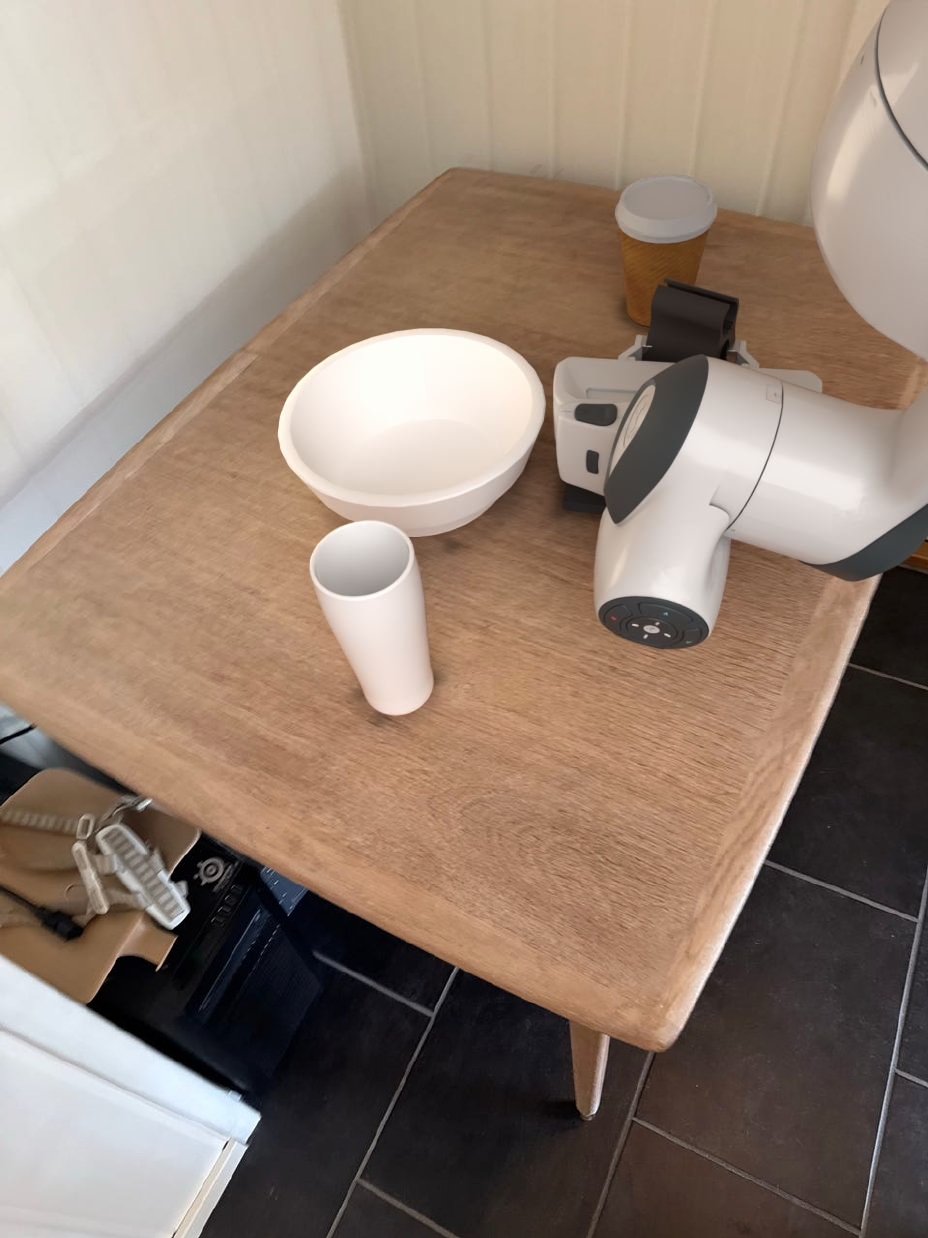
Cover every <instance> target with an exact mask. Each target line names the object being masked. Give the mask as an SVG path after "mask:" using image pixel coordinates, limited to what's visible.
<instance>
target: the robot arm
mask: <svg viewBox="0 0 928 1238" xmlns="http://www.w3.org/2000/svg"><path fill="white" fill-rule="evenodd" d="M816 139H817V140H816V141H815V146H814V149H813V152H812V156H811V162H810V170H809V208H810V215H811V222H812V226H813V231H814V236H815V240H816V242H817V243H816V244H817V246H818V249H819V251H820V254H821V257H822V259H823V262H824V264H825V266H826V268H827V271H828V273H829V275H830V276H831V278H832V280H833V282H834V284H835V285H836V287H837V289H838V290H839V291H840V294H841V295H842V296H843V297H844V299H845V300H846V301H847V303H848V304H849V305H850V306H851V307H852V308H853V310H854V311H855V312H856V313H857V314H858V315H859V317H861V318H862V319H863V320H864V321H865V322H866V323H867V324H868V325H869V326H871V327H872V328H873V329H874V330H876V331H877V332H878V333H880V334H882V335H883V336H885V338H888V339H889V340H891V341H893V342H894V343H896V344H898V345H899V346H901V347H903V348H904V349H906V350H907V351H909V352H911V353H912V354H913V355H915V356H916V357H919V358H920V359H922V360H923V361H925V362H926V363H927V364H928V0H889V2H888V3H887V5H886V6H885V8H884V10H883V11H882V13H880V16H879V17H878V19H877V20H876V22H875V24H874V25H873V27H872V29H871V30H870V32H869V34H868V35H867V37H866V39H865V40H864V42H863V44H862V45H861V47H860V49H859V51H858V53H857V54H856V56H855V58H854V60H853V61H852V64H851V65H850V67H849V69H848V71H847V73H846V75H845V77H844V79H843V81H842V82H841V84H840V86H839V89H838V91H837V93H836V95H835V97H834V99H833V101H832V103H831V105H830V108H829V110H828V113H827V115H826V117H825V120H824V121H823V124H822V126H821V129H820V131H819V133H818V136H817V138H816ZM647 336H648V334H636V336H635V341H634V345H633V344H632V345H631V346H630V347H628V348H627V349H626V350H624V351H623V352H622V353H620V354H619V355H618V357H617V359H616V358H601V357H600V358H599V357H585V356H584V357H583V356H567V357H566V358H564V359H562V360H561V361H559V362H558V363H557V364H556V366H555V370H554V375H553V385H552V387H553V388H552V390H553V394H552V395H553V396H552V397H553V398H552V399H553V401H552V403H553V405H552V406H553V407H552V410H553V411H552V413H553V431H554V433H553V434H554V440H555V449H556V451H555V453H556V461H557V462H556V463H557V468H558V469H557V470H558V474H559V477H560V479H561V480H562V481H563V482H565V483H566V484H567V483H569V484H572V485H575V486H578V487H581V488H584V489H587V490H590V491H592V492H595V493H598V494H600V495H602V496H605V501H606V505H607V506H606V508H605V510H604V512H603V514H601V518H600V523H599V528H598V533H597V540H596V546H595V553H594V554H595V556H594V565H593V605H594V606H593V607H594V611H595V615H596V618H597V619H598V621H599V623H600V624H601V625H602V626H603V627H604V628H605V630H608V631H609V632H610V633H612V634H613V635H614V636H616V637H618V638H621V639H623V640H626V641H628V642H629V641H630V642H632V643H635V644H638V645H642V646H644V647H649V648H653V649H657V650H682V649H688V648H692V647H695V646H699V645H701V644H702V643H704V642H705V641H706V640H708V639H709V637H710V636H711V635H712V633H713V630H714V628H715V626H716V623H717V620H718V617H719V613H720V609H721V605H722V601H723V596H724V592H725V587H726V582H727V577H728V570H729V565H730V558H731V557H730V556H731V547H732V540H734V541H738V542H741V543H744V544H747V545H750V546H754V547H756V548H759V549H763V550H766V551H769V552H772V553H774V554H775V553H776V554H778V555H781V556H785V557H788V558H790V559H794V560H796V561H798V562H799V563H801V564H803V565H805V566H807V567H811V568H813V569H815V570H818V571H820V572H823V573H825V574H827V575H830V576H832V577H835V578H837V579H840V580H842V581H845V582H849V583H852V582H853V583H854V582H861V581H865V580H867V579H871V578H873V577H875V576H878V575H881V574H883V573H885V572H887V571H890V570H892V569H894V568H896V567H897V566H899V565H900V564H902V563H904V562H905V561H906V560H907V559H909V558H910V557H912V555H914V554H915V553H916V552H917V550H918V549H919V548H920V547H921V546H922V545H923V544H924V542H925V541H926V539H927V538H928V383H927V384H926V385H925V387H924V388H923V389H922V390H921V391H920V393H918V395H917V397H916V398H914V400H913V401H912V402H911V404H910V405H909V406H908V408H902V409H901V408H900V409H888V408H879V407H872V406H868V405H867V406H866V405H861V404H858V403H854V402H851V401H848V400H844V399H841V398H839V397H835V396H833V395H830V394H826V393H823V386H824V385H823V380H822V379H821V378H820V377H819V376H818V375H817V374H815V373H814V372H813V371H811V370H804V369H803V370H802V369H785V368H771V369H770V368H769V367H760V364H761V363H759V362H758V361H757V360H756V359H755V358H754V356H752V355H751V354H750V353H749V352H748V351H747V340H745V339H735V340H734V342H733V343H732V344H731V345H730V346H727V351H726V357H725V361H724V360H721V359H717V358H713V357H708V356H705V355H703V354H699V355H695V356H692V357H689V358H686V359H684V360H681V361H679V362H677V363H669V362H652V361H642V358H643V354H644V353H645V352H646V351H648V350H649V349H650V348H651V347H652V346H650V345H647V344H646V341H647Z"/></svg>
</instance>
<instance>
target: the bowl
mask: <svg viewBox="0 0 928 1238" xmlns="http://www.w3.org/2000/svg"><path fill="white" fill-rule="evenodd" d="M544 389H545V388H544V385H543V383H542V381H541V380H540V377H539V375H538V373H537V371H536V369H534V368H533V366H532V365H531V364H530V363H529V362H528V361H527V360H526V359H525V358H524V356H522V355H521V354H520V353H519V352H517V351H515V349H513V348H511V347H510V346H508V345H507V344H505V343H502V342H501V341H498V340H496V339H493V338H492V337H489V336H486V335H482V334H479V333H475V332H471V331H467V330H459V329H452V328H445V327H441V328H440V327H439V328H438V327H437V328H436V327H435V328H430V327H429V328H427V327H425V328H422V327H421V328H412V329H405V330H396V331H392V332H388V333H383V334H379V335H376V336H375V335H374V336H371V337H369V338H367V339H364V340H361V341H358V342H355V343H353V344H350V345H348V346H346V347H344V348H342V349H340V350H339V351H337V352H335V353H333V354H330V355H329V356H328V357H326V358H325V359H323V360H322V361H321V362H320V363H318V364H316V365H315V366H313V367H312V368H311V369H310V370H309V371H308V372H307V373H306V374H305V375H304V376H303V377H302V378H301V379H300V380H299V381H298V382H297V383H296V385H295V386H294V388H292V391H291V392H290V394H289V395H288V396H287V398H286V401H285V403H284V405H283V407H282V409H281V413H280V415H279V422H278V429H277V430H278V431H277V437H278V442H279V448H280V452H281V454H282V456H283V457H284V460H285V461H286V463H287V465H288V467H289V468H290V469H291V470H292V471H293V473H295V475H296V476H297V477H298V478H299V479H300V480H301V482H302V483H304V484H305V485H306V487H308V489H310V491H311V492H312V493H313V494H314V495H315V496H316V497H317V498H318V499H319V500H320V502H322V503H323V504H324V505H325V507H327V508H328V509H330V510H331V511H333V512H334V513H336V514H338V515H339V516H341V517H342V518H344V519H346V520H350V521H352V522H356V521H363V520H377V521H383V522H387V523H390V524H392V525H395V526H396V527H398V528H400V529H401V530H402V531H404V532H405V533H406V534H407V536H408V537H409V538H420V537H429V536H436V535H441V534H443V533H448V532H451V531H454V530H456V529H458V528H461V527H463V526H465V525H467V524H469V523H471V522H472V521H474V520H476V519H477V518H479V517H480V516H482V515H483V514H484V513H485V512H486V511H488V509H489V508H491V507H492V506H493V505H494V503H495V502H496V501H497V500H498V499H499V498H500V497H502V496H503V495H505V493H506V492H508V490H510V489H511V488H512V487H513V485H514V484H515V483H516V482H517V480H518V479H519V477H520V476H521V475H522V474H523V472H524V469H525V467H526V466H527V463H528V462H529V461H528V460H529V459H530V457H531V453H532V451H533V448H534V445H535V444H536V441H537V438H538V436H539V434H540V431H541V429H542V426H543V424H544V420H545V414H546V413H545V412H546V405H547V402H546V394H545V390H544Z"/></svg>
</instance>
